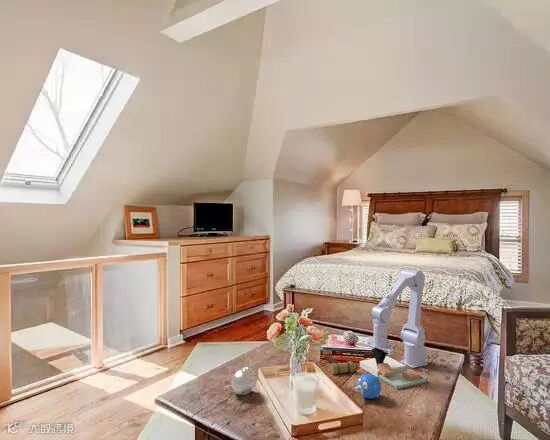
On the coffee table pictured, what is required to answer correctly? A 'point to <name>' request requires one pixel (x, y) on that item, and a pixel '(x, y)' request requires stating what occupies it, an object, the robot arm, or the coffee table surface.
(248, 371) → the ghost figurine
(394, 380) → the tray
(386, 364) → the tile
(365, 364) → the board
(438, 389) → the coffee table surface
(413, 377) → the tile
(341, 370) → the gavel
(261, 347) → the coffee table surface
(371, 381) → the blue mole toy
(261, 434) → the coffee table surface
